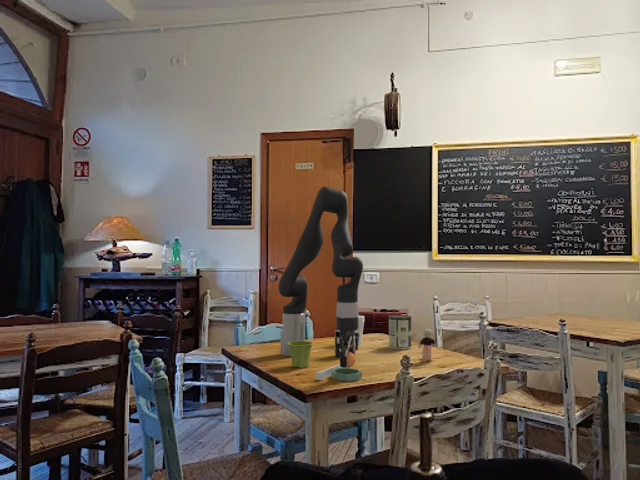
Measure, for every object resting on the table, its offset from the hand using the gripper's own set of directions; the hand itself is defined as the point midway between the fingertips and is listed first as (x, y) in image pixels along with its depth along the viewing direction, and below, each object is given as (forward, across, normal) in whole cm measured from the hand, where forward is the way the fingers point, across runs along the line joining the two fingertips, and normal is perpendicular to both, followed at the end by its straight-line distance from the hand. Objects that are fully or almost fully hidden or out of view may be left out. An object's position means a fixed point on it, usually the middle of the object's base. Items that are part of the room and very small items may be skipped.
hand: (347, 365), depth 171 cm
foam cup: (+4, -59, -26) cm, 65 cm away
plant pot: (+4, -7, -23) cm, 25 cm away
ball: (-2, 0, 0) cm, 2 cm away
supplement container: (+4, -32, -18) cm, 37 cm away
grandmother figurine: (+4, -41, +15) cm, 44 cm away
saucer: (+4, 0, 0) cm, 4 cm away
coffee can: (+4, -63, -5) cm, 63 cm away
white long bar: (+4, -2, -7) cm, 8 cm away
